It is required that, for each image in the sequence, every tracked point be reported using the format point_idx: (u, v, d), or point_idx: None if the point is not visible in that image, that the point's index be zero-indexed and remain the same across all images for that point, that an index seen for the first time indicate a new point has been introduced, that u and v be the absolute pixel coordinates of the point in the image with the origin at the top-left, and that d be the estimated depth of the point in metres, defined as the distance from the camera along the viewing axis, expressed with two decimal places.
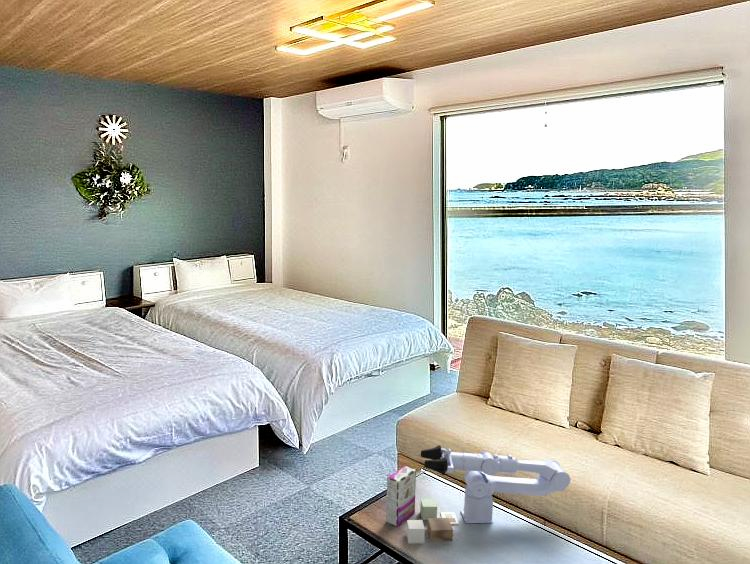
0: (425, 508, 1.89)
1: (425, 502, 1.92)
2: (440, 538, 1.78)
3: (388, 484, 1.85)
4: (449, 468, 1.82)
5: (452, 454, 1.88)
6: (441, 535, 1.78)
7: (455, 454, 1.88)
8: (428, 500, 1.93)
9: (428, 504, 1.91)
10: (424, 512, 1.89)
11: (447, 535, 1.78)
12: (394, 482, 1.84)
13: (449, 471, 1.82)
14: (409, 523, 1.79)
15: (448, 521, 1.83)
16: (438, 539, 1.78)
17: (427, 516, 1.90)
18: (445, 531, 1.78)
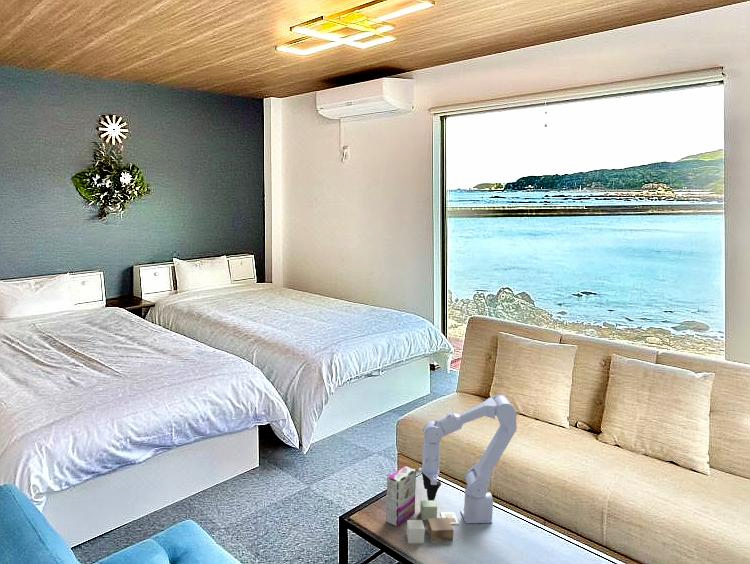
0: (425, 508, 1.89)
1: (425, 502, 1.92)
2: (440, 538, 1.78)
3: (388, 484, 1.85)
4: (432, 483, 1.83)
5: (423, 468, 1.89)
6: (441, 534, 1.78)
7: (423, 465, 1.89)
8: (428, 500, 1.93)
9: (428, 504, 1.91)
10: (424, 512, 1.89)
11: (448, 535, 1.78)
12: (394, 482, 1.84)
13: (435, 483, 1.83)
14: (409, 523, 1.79)
15: (448, 521, 1.83)
16: (438, 539, 1.78)
17: (427, 516, 1.90)
18: (446, 531, 1.78)
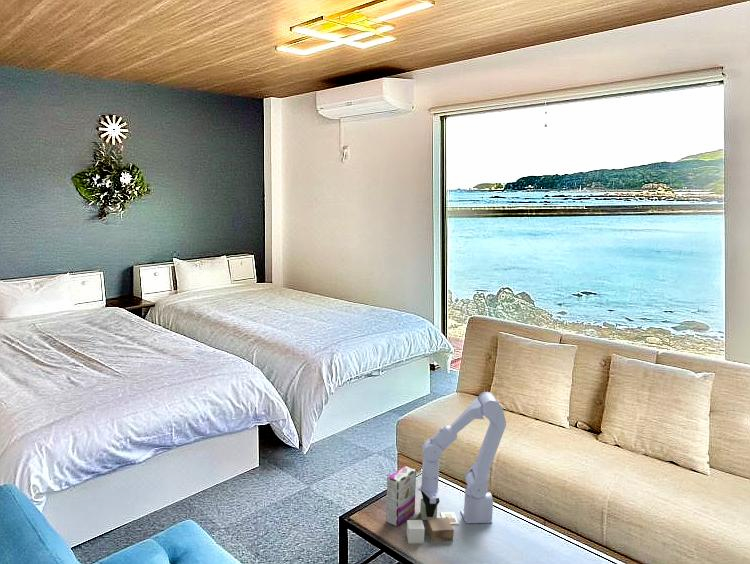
0: (425, 508, 1.89)
1: None
2: (441, 538, 1.78)
3: (388, 484, 1.85)
4: (431, 502, 1.84)
5: (422, 486, 1.90)
6: (441, 535, 1.78)
7: (422, 483, 1.90)
8: None
9: None
10: (424, 512, 1.89)
11: (448, 534, 1.78)
12: (394, 481, 1.84)
13: (434, 501, 1.84)
14: (409, 523, 1.79)
15: (448, 521, 1.83)
16: (439, 539, 1.78)
17: None
18: (446, 531, 1.78)
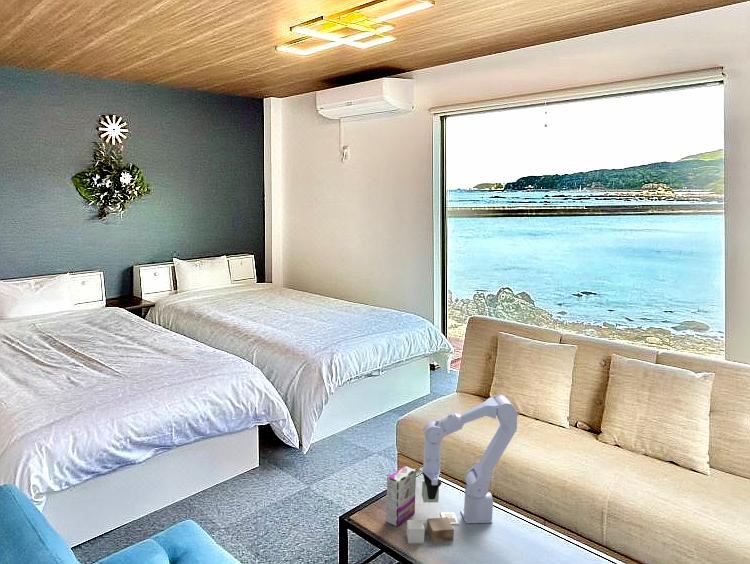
0: None
1: None
2: (441, 538, 1.78)
3: (388, 484, 1.85)
4: (432, 483, 1.82)
5: (424, 468, 1.88)
6: (442, 535, 1.78)
7: (424, 465, 1.88)
8: None
9: None
10: (426, 494, 1.88)
11: (448, 534, 1.78)
12: (394, 482, 1.84)
13: (436, 483, 1.82)
14: (409, 523, 1.79)
15: (447, 521, 1.83)
16: (439, 539, 1.78)
17: None
18: (446, 531, 1.78)
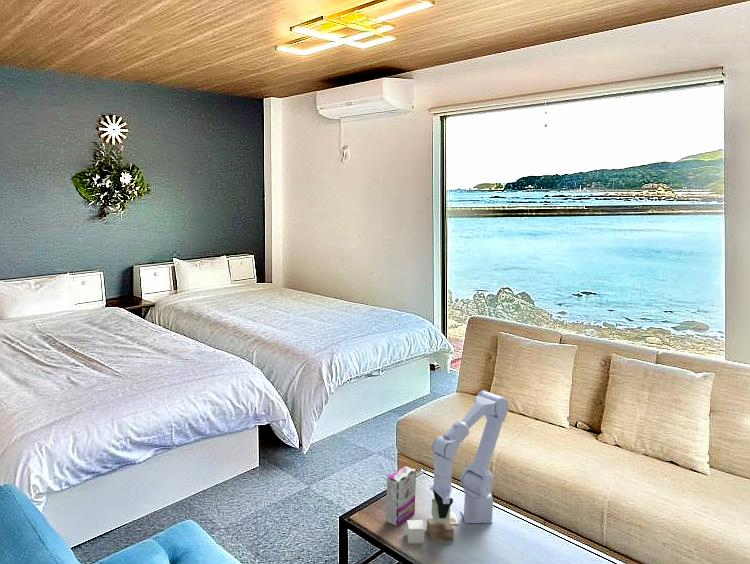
0: None
1: None
2: (441, 538, 1.78)
3: (388, 484, 1.85)
4: (444, 502, 1.72)
5: (434, 486, 1.78)
6: (442, 535, 1.78)
7: (434, 482, 1.78)
8: None
9: None
10: (436, 513, 1.78)
11: (448, 534, 1.78)
12: (394, 482, 1.84)
13: (447, 502, 1.72)
14: (409, 523, 1.79)
15: None
16: (439, 539, 1.78)
17: None
18: (446, 531, 1.78)
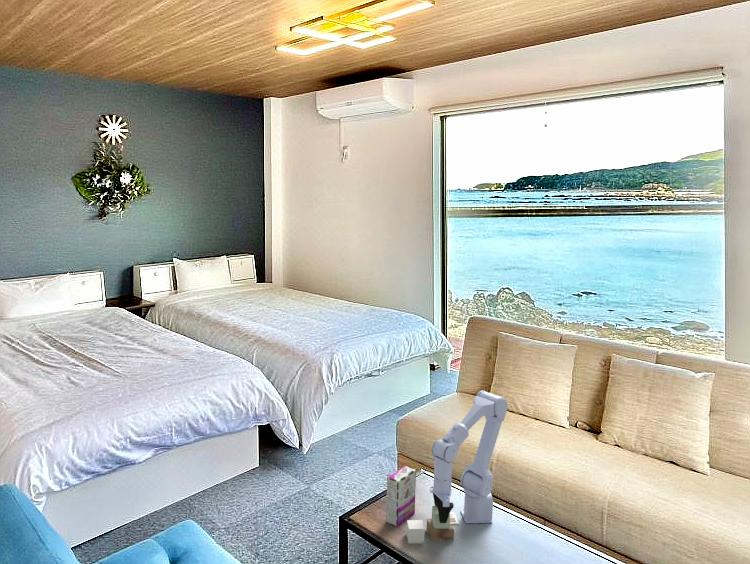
0: (438, 516, 1.78)
1: (437, 509, 1.81)
2: (441, 538, 1.78)
3: (388, 484, 1.85)
4: (444, 505, 1.72)
5: (434, 489, 1.78)
6: (442, 535, 1.78)
7: (434, 485, 1.78)
8: None
9: None
10: (436, 520, 1.78)
11: (449, 534, 1.78)
12: (394, 482, 1.84)
13: (447, 505, 1.73)
14: (409, 523, 1.79)
15: None
16: (440, 539, 1.78)
17: (439, 524, 1.78)
18: (447, 531, 1.78)
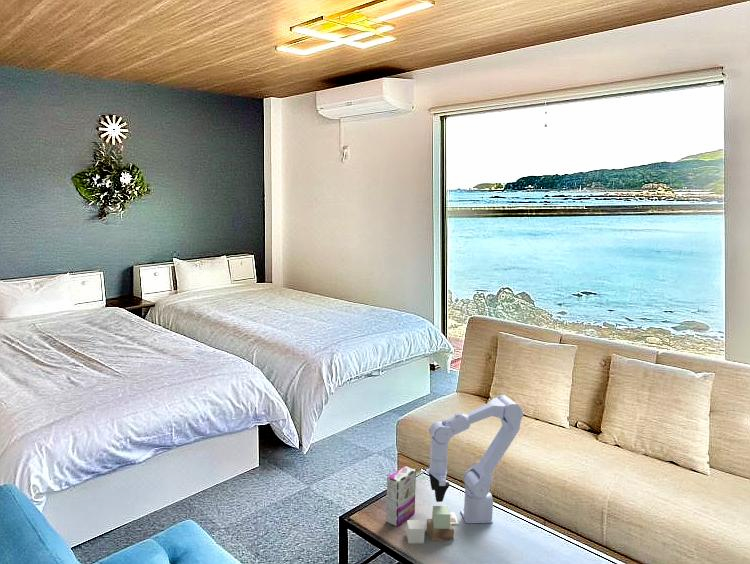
0: (438, 516, 1.78)
1: (437, 509, 1.80)
2: (441, 538, 1.78)
3: (388, 484, 1.85)
4: (440, 484, 1.80)
5: (431, 469, 1.86)
6: (442, 535, 1.78)
7: (431, 466, 1.86)
8: (440, 507, 1.82)
9: (441, 512, 1.79)
10: (436, 520, 1.78)
11: (448, 534, 1.78)
12: (394, 481, 1.84)
13: (443, 484, 1.80)
14: (409, 523, 1.79)
15: None
16: (440, 539, 1.78)
17: (439, 524, 1.78)
18: (447, 531, 1.78)
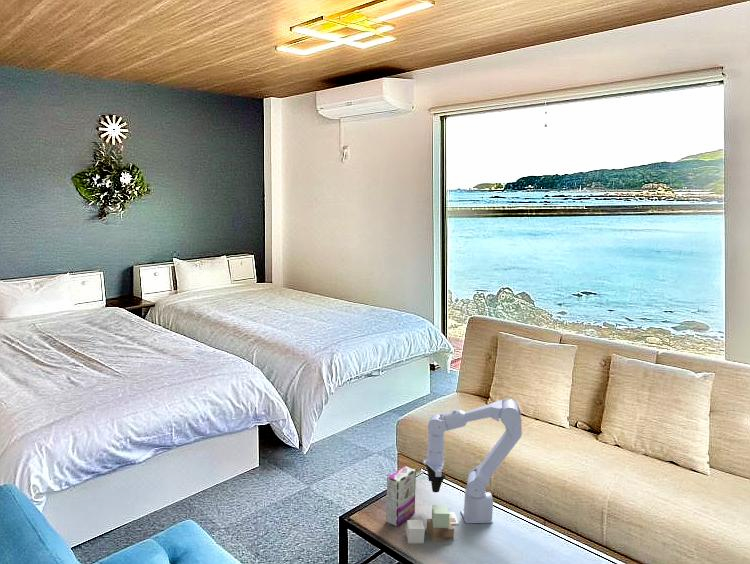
0: (437, 515, 1.78)
1: (437, 508, 1.81)
2: (442, 538, 1.78)
3: (388, 484, 1.85)
4: (436, 475, 1.86)
5: (427, 460, 1.92)
6: (442, 534, 1.78)
7: (427, 457, 1.92)
8: (440, 507, 1.82)
9: (440, 511, 1.79)
10: (435, 519, 1.78)
11: (449, 534, 1.78)
12: (394, 482, 1.84)
13: (439, 475, 1.86)
14: (409, 523, 1.79)
15: None
16: (440, 539, 1.78)
17: (439, 524, 1.79)
18: (447, 531, 1.78)
